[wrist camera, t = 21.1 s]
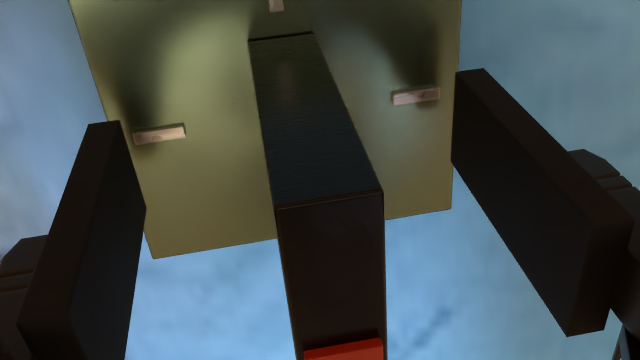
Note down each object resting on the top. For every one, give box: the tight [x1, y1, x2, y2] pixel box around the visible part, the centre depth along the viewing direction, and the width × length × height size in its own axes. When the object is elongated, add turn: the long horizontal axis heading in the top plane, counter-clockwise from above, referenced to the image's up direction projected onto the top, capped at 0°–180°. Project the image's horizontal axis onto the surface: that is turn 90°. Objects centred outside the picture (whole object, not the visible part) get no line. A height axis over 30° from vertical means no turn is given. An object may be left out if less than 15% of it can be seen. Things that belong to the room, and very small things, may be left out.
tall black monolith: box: [247, 34, 388, 360], centre depth 13 cm, size 5×2×8 cm, turn 4°
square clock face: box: [68, 0, 462, 259], centre depth 17 cm, size 10×9×2 cm
